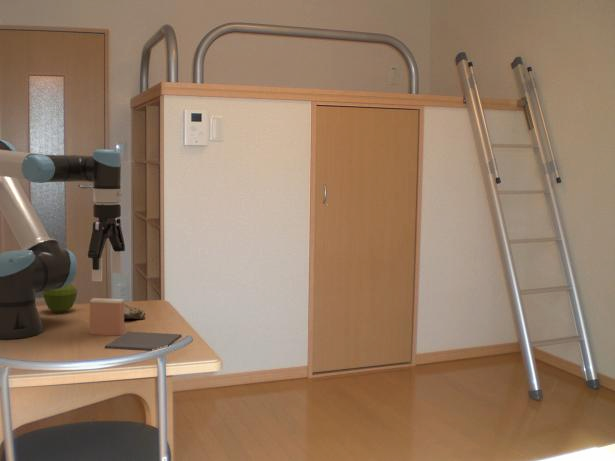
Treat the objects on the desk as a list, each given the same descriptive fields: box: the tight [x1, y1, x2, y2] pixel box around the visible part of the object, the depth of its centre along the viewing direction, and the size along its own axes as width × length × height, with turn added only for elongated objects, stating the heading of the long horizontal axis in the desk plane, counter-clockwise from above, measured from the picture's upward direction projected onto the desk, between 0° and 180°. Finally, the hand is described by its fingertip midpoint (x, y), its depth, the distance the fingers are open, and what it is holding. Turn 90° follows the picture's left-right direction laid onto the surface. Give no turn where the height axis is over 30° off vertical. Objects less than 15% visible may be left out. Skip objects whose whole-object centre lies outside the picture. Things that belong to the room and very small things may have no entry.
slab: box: [89, 297, 125, 337], centre depth 201 cm, size 9×3×10 cm, turn 82°
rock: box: [124, 303, 146, 321], centre depth 221 cm, size 11×11×4 cm
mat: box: [104, 331, 182, 351], centre depth 193 cm, size 16×16×1 cm
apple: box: [42, 283, 78, 314], centre depth 229 cm, size 11×10×10 cm
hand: (107, 277), depth 201 cm, fingers open, 13 cm apart
